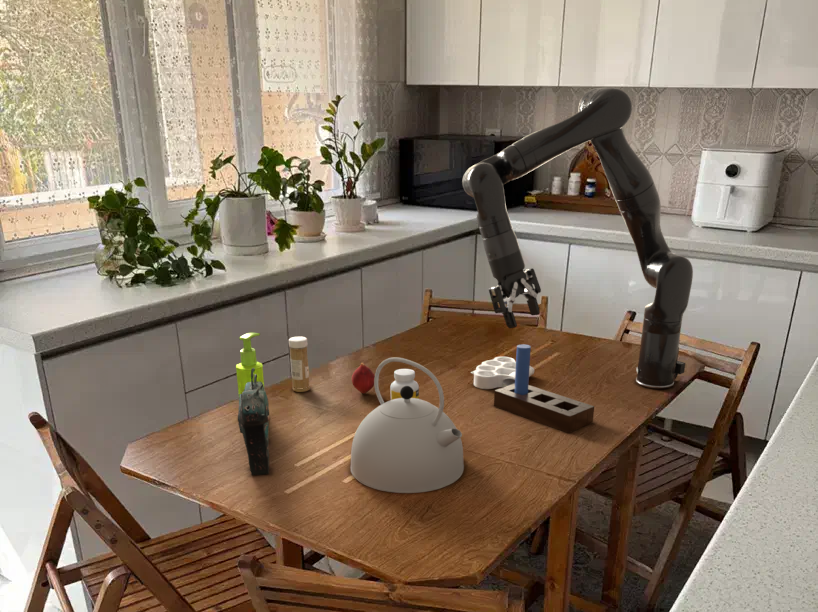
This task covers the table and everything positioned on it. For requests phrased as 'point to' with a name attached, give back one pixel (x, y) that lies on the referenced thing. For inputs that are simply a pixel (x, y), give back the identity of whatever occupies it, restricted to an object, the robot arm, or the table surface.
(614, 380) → the table surface
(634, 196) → the robot arm
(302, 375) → the sprinkles bottle
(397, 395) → the pill bottle
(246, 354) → the soap dispenser
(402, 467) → the kettle
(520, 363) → the peg
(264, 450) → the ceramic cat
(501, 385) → the white multi-cup tray
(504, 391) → the rack
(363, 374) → the onion
